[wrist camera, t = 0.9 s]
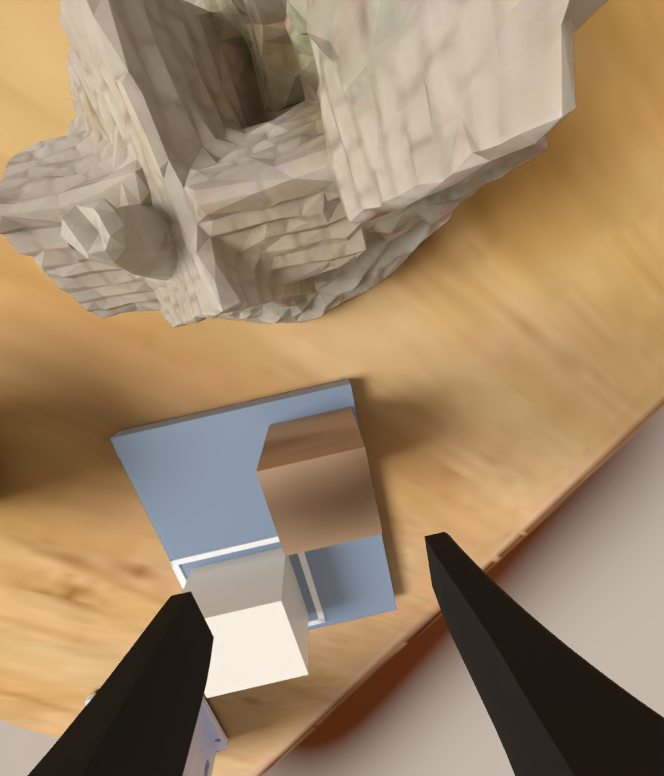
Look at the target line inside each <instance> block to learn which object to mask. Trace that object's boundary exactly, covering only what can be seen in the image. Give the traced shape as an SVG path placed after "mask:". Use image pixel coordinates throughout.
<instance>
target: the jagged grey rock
mask: <svg viewBox="0 0 664 776" xmlns="http://www.w3.org/2000/svg"><path fill="white" fill-rule="evenodd" d="M607 1H608V0H61V6H60V24H61V26H62V28H63V30H64V32H65V34H66V36H67V37H68V39H69V43H70V46H71V50H70V51H69V53H68V61H67V69H68V71H69V73H70V79H69V83H70V85H71V92H70V94H71V98H72V101H73V105H74V109H75V112H76V117H75V118H74V120H73V121H72V122H71V123H70V124H69V126H68V128H67V133H66V136H63V137H58V138H54V139H50V140H45V141H41V142H39V143H37V144H35V145H33V146H31V147H29V148H27V149H25V150H23V151H21V152H19V153H18V154H16V155H15V156H13V157H12V158H11V159H10V160H9V162H8V164H7V166H6V169H5V173H4V176H3V179H2V181H0V234H3V235H4V236H5V238H6V239H7V241H8V242H9V243H10V244H11V245H12V246H13V247H14V249H15V250H16V251H17V252H18V253H19V254H22V255H27V256H31V257H32V258H33V259H34V260H35V261H36V263H37V264H38V265H39V266H40V267H41V269H42V270H43V271H44V272H45V273H46V274H47V275H48V276H49V277H51V278H52V279H53V281H54V282H55V283H56V284H57V286H58V287H59V288H60V289H61V290H63V291H65V292H67V293H68V294H69V295H71V296H72V297H73V298H74V299H75V300H76V301H77V302H78V303H79V304H80V305H81V306H82V307H83V308H84V309H85V310H87V311H90V312H92V313H94V314H96V315H97V316H99V317H101V318H103V319H104V318H107V317H110V316H113V315H116V314H119V313H123V312H132V311H161V313H162V314H163V316H164V318H165V320H166V321H168V322H170V324H171V326H172V328H174V327H178V326H183V325H187V324H191V323H197V322H200V321H202V320H204V319H206V318H210V319H214V318H221V319H228V320H245V321H250V322H257V323H266V324H267V323H269V324H271V323H294V322H299V323H301V322H304V321H307V320H311V319H314V318H318V317H322V315H323V314H324V313H327V311H328V310H330V309H332V308H334V307H336V306H337V305H339V304H340V303H342V302H345V301H347V300H349V299H352V298H356V297H357V296H359V295H361V294H362V293H364V292H365V291H367V290H369V289H370V288H372V287H374V286H375V285H376V284H377V283H379V282H381V281H382V280H383V279H384V278H387V277H389V276H390V275H391V274H393V273H394V272H395V271H396V270H397V269H398V268H399V267H400V265H401V264H402V263H403V262H404V261H405V260H406V259H407V258H408V257H409V255H410V254H411V253H412V252H413V251H414V250H415V249H416V248H417V247H418V245H419V244H420V243H422V242H423V241H424V240H425V239H426V238H428V237H429V236H430V235H431V234H432V233H434V232H435V231H436V230H437V229H439V228H440V227H441V226H442V225H444V224H445V223H446V222H447V221H449V219H450V218H451V216H452V213H453V212H454V210H455V209H456V208H457V207H458V205H459V204H460V203H461V202H462V201H464V200H466V199H468V198H470V197H472V196H473V195H474V194H475V193H476V192H477V191H478V190H479V189H480V188H481V187H482V186H483V185H484V184H486V183H489V182H492V181H494V180H497V179H500V178H501V177H503V176H505V175H506V174H508V173H509V172H511V171H512V170H514V169H515V168H517V167H518V166H520V165H522V164H524V163H526V162H528V161H530V160H532V159H534V158H536V156H537V155H538V154H539V153H541V152H542V151H544V150H546V149H547V148H548V143H547V139H546V136H547V133H548V132H549V131H550V130H551V129H553V128H554V127H555V126H556V125H557V124H558V123H559V122H561V121H562V120H563V119H564V118H565V117H566V116H567V115H569V114H570V113H571V112H572V111H573V110H574V109H575V108H576V98H575V73H574V48H573V33H574V32H575V31H576V30H577V29H578V28H579V27H580V26H581V25H582V24H583V23H584V22H585V21H586V20H587V19H588V18H590V17H591V16H592V15H593V14H594V13H595V12H596V11H597V10H598V9H599V8H600V7H601V6H602V5H603V4H604V3H605V2H607Z"/></svg>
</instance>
